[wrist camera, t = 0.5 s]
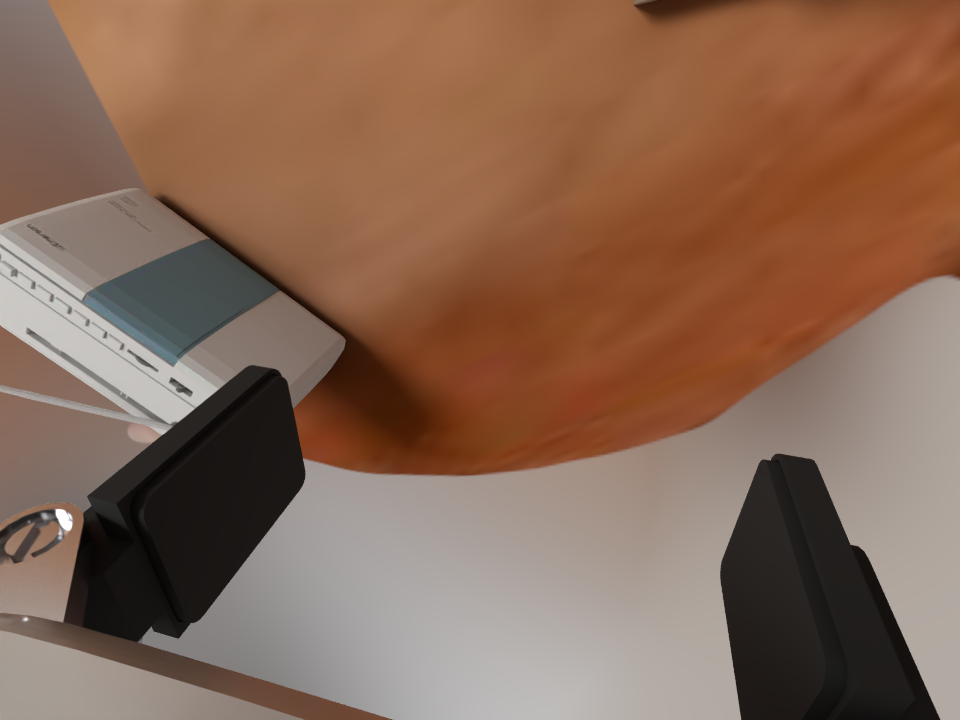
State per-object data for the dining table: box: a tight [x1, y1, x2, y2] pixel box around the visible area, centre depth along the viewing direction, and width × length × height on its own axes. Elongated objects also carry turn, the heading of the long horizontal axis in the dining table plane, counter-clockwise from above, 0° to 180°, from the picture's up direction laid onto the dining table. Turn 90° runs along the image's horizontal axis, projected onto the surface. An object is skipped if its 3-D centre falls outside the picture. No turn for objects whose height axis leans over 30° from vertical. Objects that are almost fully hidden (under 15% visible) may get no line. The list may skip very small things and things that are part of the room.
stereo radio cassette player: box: [0, 188, 346, 435], centre depth 38 cm, size 21×8×20 cm, turn 55°
